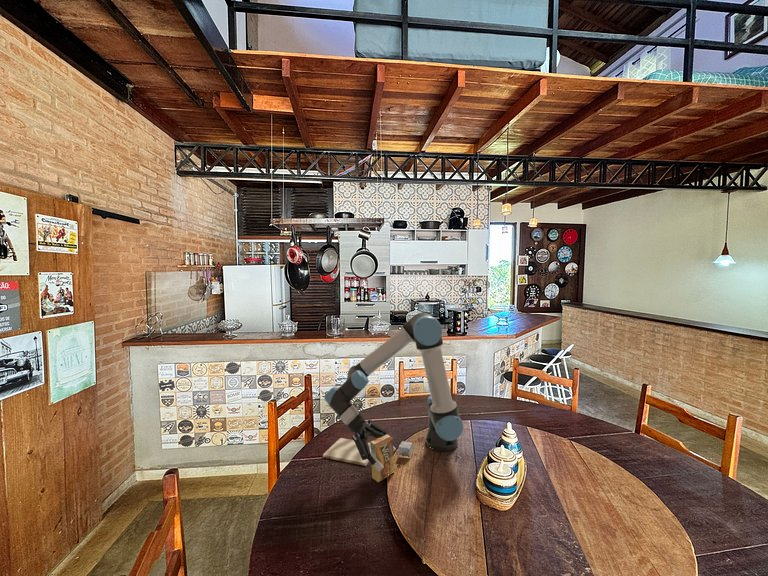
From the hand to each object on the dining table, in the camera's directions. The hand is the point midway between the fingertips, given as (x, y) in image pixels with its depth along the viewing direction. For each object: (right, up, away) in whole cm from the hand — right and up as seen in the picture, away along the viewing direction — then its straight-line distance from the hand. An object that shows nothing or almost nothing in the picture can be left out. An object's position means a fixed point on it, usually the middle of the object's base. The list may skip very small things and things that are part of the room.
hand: (387, 459), depth 132 cm
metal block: (+8, -6, +15) cm, 19 cm away
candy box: (-2, -7, +1) cm, 8 cm away
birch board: (-17, -7, +20) cm, 27 cm away
